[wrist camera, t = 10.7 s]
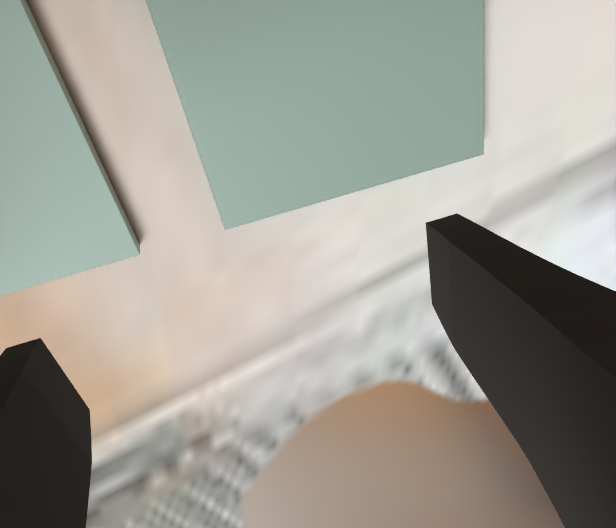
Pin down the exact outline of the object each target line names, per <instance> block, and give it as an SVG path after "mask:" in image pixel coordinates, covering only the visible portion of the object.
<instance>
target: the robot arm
mask: <svg viewBox="0 0 616 528" xmlns="http://www.w3.org/2000/svg"><path fill="white" fill-rule="evenodd" d="M426 231H427V244H428V257H429V270H430V283H431V296H432V305H433V307H434V309H435V311H436V313H437V315H438V317H439V319H440V321H441V323H442V325H443V327H444V329H445V331H446V333H447V335H448V337H449V339H450V341H451V343H452V345H453V347H454V348H455V350H456V352H457V353H458V355H459V356H460V358H461V359H462V361H463V362H464V364H465V365H466V367H467V368H468V370H469V371H470V373H471V374H472V376H473V377H474V379H475V380H476V382H477V383H478V385H479V386H480V387H481V389H482V390H483V392H484V393H485V395H486V396H487V398H488V399H489V401H490V402H491V404H492V405H493V407H494V408H495V410H496V411H497V413H498V414H499V415H500V417H501V418H502V420H503V421H504V423H505V424H506V426H507V427H508V429H509V430H510V432H511V433H512V435H513V436H514V438H515V439H516V440H517V442H518V444H519V445H520V447H521V448H522V450H523V452H524V453H525V455H526V457H527V458H528V460H529V461H530V463H531V465H532V467H533V469H534V470H535V472H536V474H537V476H538V478H539V480H540V481H541V483H542V485H543V487H544V489H545V491H546V492H547V494H548V496H549V498H550V500H551V502H552V504H553V506H554V507H555V509H556V511H557V513H558V515H559V517H560V519H561V521H562V523H563V525H564V526H565V528H616V291H613V290H611V289H609V288H606V287H604V286H602V285H599V284H597V283H595V282H592V281H590V280H588V279H585V278H583V277H581V276H579V275H576V274H574V273H572V272H570V271H568V270H566V269H563V268H561V267H559V266H557V265H555V264H553V263H551V262H549V261H547V260H545V259H543V258H541V257H539V256H537V255H535V254H533V253H531V252H529V251H527V250H525V249H523V248H521V247H519V246H517V245H515V244H513V243H512V242H510V241H508V240H506V239H504V238H502V237H500V236H498V235H497V234H495V233H493V232H491V231H489V230H487V229H485V228H484V227H482V226H480V225H478V224H476V223H474V222H472V221H471V220H469V219H467V218H465V217H463V216H461V215H459V214H454V215H451V216H447V217H444V218H441V219H437V220H434V221H431V222H427V223H426ZM91 465H92V451H91V426H90V410H89V408H88V407H87V405H86V404H85V402H84V401H83V399H82V398H81V397H80V395H79V394H78V392H77V391H76V389H75V388H74V386H73V385H72V383H71V382H70V380H69V379H68V378H67V376H66V375H65V373H64V372H63V370H62V369H61V367H60V366H59V364H58V363H57V361H56V360H55V359H54V357H53V356H52V354H51V353H50V351H49V350H48V348H47V347H46V345H45V344H44V342H43V341H42V340H41V338H39V339H36V340H32V341H29V342H26V343H22V344H19V345H15V346H12V347H9V348H6V349H5V351H4V352H3V353H2V354H1V355H0V528H85V527H86V518H87V508H88V498H89V487H90V477H91Z"/></svg>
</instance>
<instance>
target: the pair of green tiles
mask: <svg viewBox="0 0 616 528" xmlns="http://www.w3.org/2000/svg"><path fill="white" fill-rule="evenodd" d="M146 1H147V4H148V7H149V10H150V13H151V16H152V19H153V22H154V25H155V28H156V31H157V34H158V36H159V39H160V42H161V45H162V48H163V51H164V54H165V57H166V60H167V63H168V66H169V68H170V71H171V74H172V77H173V80H174V83H175V86H176V89H177V92H178V95H179V98H180V101H181V103H182V106H183V109H184V112H185V115H186V118H187V121H188V124H189V127H190V130H191V133H192V136H193V138H194V141H195V144H196V147H197V150H198V153H199V156H200V159H201V162H202V165H203V168H204V170H205V173H206V176H207V179H208V182H209V185H210V188H211V191H212V194H213V197H214V200H215V203H216V205H217V208H218V211H219V214H220V217H221V220H222V223H223V226H224V229H225V230H227V229H230V228H233V227H237V226H240V225H244V224H247V223H250V222H254V221H257V220H261V219H264V218H268V217H271V216H274V215H278V214H281V213H285V212H288V211H292V210H295V209H298V208H302V207H305V206H309V205H312V204H315V203H319V202H322V201H326V200H329V199H333V198H336V197H339V196H343V195H346V194H350V193H353V192H356V191H360V190H363V189H367V188H370V187H374V186H377V185H380V184H384V183H387V182H391V181H394V180H398V179H401V178H404V177H408V176H411V175H415V174H418V173H421V172H425V171H428V170H432V169H435V168H439V167H442V166H445V165H449V164H452V163H456V162H459V161H463V160H466V159H469V158H473V157H476V156H480V155H483V154H484V45H483V0H146ZM138 255H140V244H139V242H138V240H137V238H136V236H135V234H134V232H133V229H132V227H131V225H130V223H129V221H128V219H127V217H126V214H125V212H124V210H123V208H122V206H121V204H120V201H119V199H118V197H117V195H116V193H115V191H114V189H113V186H112V184H111V182H110V180H109V178H108V176H107V173H106V171H105V169H104V167H103V165H102V163H101V161H100V158H99V156H98V154H97V152H96V150H95V148H94V146H93V143H92V141H91V139H90V137H89V135H88V133H87V130H86V128H85V126H84V124H83V122H82V120H81V118H80V115H79V113H78V111H77V109H76V107H75V105H74V102H73V100H72V98H71V96H70V94H69V92H68V90H67V87H66V85H65V83H64V81H63V79H62V77H61V75H60V72H59V70H58V68H57V66H56V64H55V62H54V59H53V57H52V55H51V53H50V51H49V49H48V47H47V44H46V42H45V40H44V38H43V36H42V34H41V31H40V29H39V27H38V25H37V23H36V21H35V19H34V16H33V14H32V12H31V10H30V8H29V6H28V4H27V1H26V0H0V296H1V295H4V294H8V293H11V292H14V291H18V290H21V289H25V288H28V287H32V286H35V285H38V284H42V283H45V282H49V281H52V280H55V279H59V278H62V277H66V276H69V275H73V274H76V273H79V272H83V271H86V270H90V269H93V268H97V267H100V266H103V265H107V264H110V263H114V262H117V261H120V260H124V259H127V258H131V257H134V256H138Z"/></svg>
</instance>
